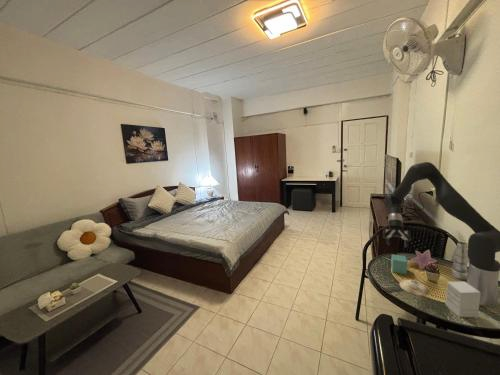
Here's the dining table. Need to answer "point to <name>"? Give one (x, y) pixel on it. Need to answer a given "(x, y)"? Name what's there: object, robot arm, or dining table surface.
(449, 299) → the supplement box
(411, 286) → the white ceramic ramekin
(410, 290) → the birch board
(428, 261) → the lily
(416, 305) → the dining table surface
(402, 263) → the teal block
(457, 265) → the plastic bottle
